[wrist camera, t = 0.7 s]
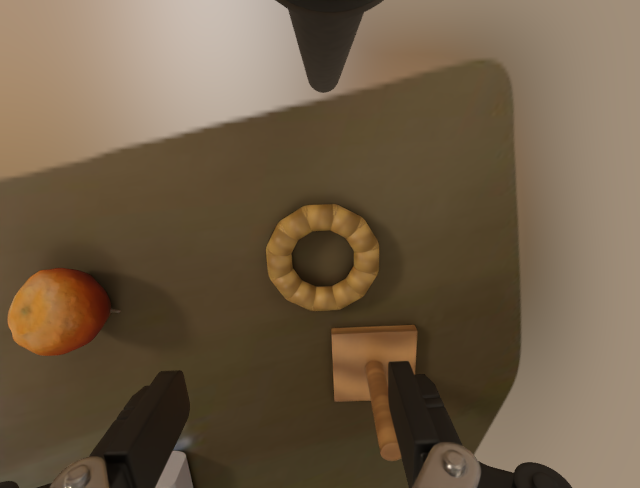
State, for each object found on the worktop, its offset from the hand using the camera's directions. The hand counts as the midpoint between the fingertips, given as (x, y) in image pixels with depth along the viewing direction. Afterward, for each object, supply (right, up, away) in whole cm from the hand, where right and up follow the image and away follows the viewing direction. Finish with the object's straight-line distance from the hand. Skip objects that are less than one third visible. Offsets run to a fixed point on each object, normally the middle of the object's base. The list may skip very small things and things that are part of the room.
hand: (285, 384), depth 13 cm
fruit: (-23, 0, +22) cm, 32 cm away
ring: (+2, +4, +19) cm, 20 cm away
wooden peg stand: (+7, -8, +25) cm, 27 cm away
